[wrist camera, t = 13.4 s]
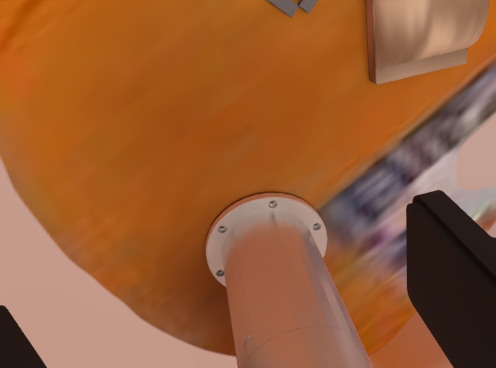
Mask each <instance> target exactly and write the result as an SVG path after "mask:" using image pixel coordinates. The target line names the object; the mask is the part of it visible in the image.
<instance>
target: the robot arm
mask: <svg viewBox="0 0 496 368" xmlns="http://www.w3.org/2000/svg"><path fill="white" fill-rule="evenodd" d="M406 230H407V291H408V295H409V298H410V300H411V302H412V304H413V306H414V307H415V309H416V310H417V312H418V313H419V315H420V316H421V318H422V319H423V321H424V323H425V324H426V326H427V327H428V329H429V330H430V332H431V333H432V335H433V336H434V338H435V340H436V341H437V343H438V344H439V346H440V347H441V349H442V350H443V352H444V353H445V355H446V356H447V358H448V360H449V361H450V363H451V364H452V366H453V367H454V368H496V238H493V237H491V236H490V235H488V234H487V233H486V232H485V231H484V230H483V229H482V228H481V227H480V226H479V225H478V224H477V223H476V222H475V221H474V220H473V219H472V218H470V217H469V216H468V215H467V214H466V213H465V212H464V211H463V210H462V209H461V208H460V207H459V206H458V205H457V204H456V203H455V202H454V201H452V200H451V199H450V198H449V197H448V196H447V195H446V194H445V193H444V192H443V191H441V190H437V191H433V192H429V193H425V194H421V195H417V196H415V197H414V198H413V203H411V204H408V205H407V208H406ZM327 240H328V238H327V231H326V228H325V225H324V223H323V221H322V219H321V217H320V216H319V214H318V212H317V211H316V210H315V209H314V208H313V207H312V206H311V205H310V204H308V203H307V202H305V201H304V200H302V199H300V198H298V197H295V196H293V195H288V194H283V193H263V194H256V195H253V196H250V197H247V198H244V199H242V200H240V201H238V202H236V203H234V204H233V205H231V206H230V207H229V208H227V209H226V210H224V211H223V212H222V213H221V215H220V216H219V217H218V218H217V219H216V220H215V222H214V223H213V225H212V226H211V228H210V231H209V233H208V236H207V240H206V247H205V248H206V259H207V263H208V267H209V269H210V271H211V273H212V275H213V276H214V277H215V278H216V279H217V281H218V282H220V283H221V284H222V285H223V286H225V287H226V290H227V296H228V303H229V310H230V317H231V324H232V331H233V338H234V344H235V351H236V358H237V365H238V368H373V365H372V363H371V361H370V359H369V357H368V355H367V352H366V350H365V348H364V346H363V344H362V342H361V339H360V337H359V335H358V333H357V331H356V329H355V326H354V324H353V322H352V320H351V318H350V316H349V313H348V311H347V309H346V307H345V305H344V303H343V300H342V298H341V296H340V294H339V292H338V290H337V287H336V285H335V283H334V281H333V279H332V277H331V274H330V272H329V270H328V268H327V266H326V264H325V261H324V259H323V258H324V255H325V252H326V249H327ZM0 368H47V367H46V366H45V364H44V363H43V361H42V360H41V358H40V357H39V355H38V354H37V352H36V351H35V349H34V348H33V346H32V345H31V343H30V342H29V340H28V339H27V337H26V336H25V334H24V333H23V332H22V330H21V329H20V327H19V326H18V324H17V323H16V321H15V320H14V318H13V317H12V315H11V314H10V312H9V311H8V309H7V308H6V307H5V306H2V305H1V306H0Z"/></svg>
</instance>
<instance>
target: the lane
mask: <svg viewBox="0 0 496 368" xmlns="http://www.w3.org/2000/svg"><path fill="white" fill-rule="evenodd" d="M488 9H489V0H366V19H367V38H368V58H369V77H370V81H372V82H373V83H375V84H376V85H378V84H382V83H386V82H391V81H395V80H399V79H403V78H407V77H411V76H416V75H420V74H424V73H428V72H432V71H436V70H441V69H445V68H449V67H453V66H457V65H461V64H466V63H467V50H468V48H469V47H471V46H472V45H473V44H474V43H475V42H476V41H477V40H478V39H479V37H480V35H481V34H482V32H483V29H484V27H485V24H486V20H487V16H488Z"/></svg>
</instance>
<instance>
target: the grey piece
mask: <svg viewBox="0 0 496 368" xmlns="http://www.w3.org/2000/svg"><path fill="white" fill-rule="evenodd" d="M268 1H270V2H271V3H272V4H274V5H275V6H276V7H278V8H279V9H281V10H282V11H283V12H285V13H286V14H287V15H289V16H290V17H292V16H293V15H294V13H295V11H296V10H297V8H298V7H301V8H302V9H303V10H305V11H306V12H307V13H310V11H311V10H312V8H313V7H314V5H315V4H316V2H317V1H318V0H300V2H299V3H298V5H297V4H296V3H294V2H293V1H292V0H268Z"/></svg>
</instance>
